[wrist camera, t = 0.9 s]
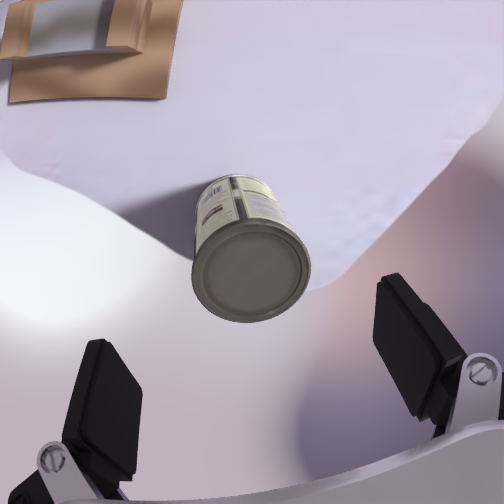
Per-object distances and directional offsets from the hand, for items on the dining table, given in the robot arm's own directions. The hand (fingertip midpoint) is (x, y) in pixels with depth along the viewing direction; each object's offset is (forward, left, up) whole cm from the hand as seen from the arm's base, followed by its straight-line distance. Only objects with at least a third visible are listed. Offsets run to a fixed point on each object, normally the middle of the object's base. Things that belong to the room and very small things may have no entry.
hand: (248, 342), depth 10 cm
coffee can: (+7, +3, -29) cm, 30 cm away
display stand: (-14, -17, -29) cm, 36 cm away
